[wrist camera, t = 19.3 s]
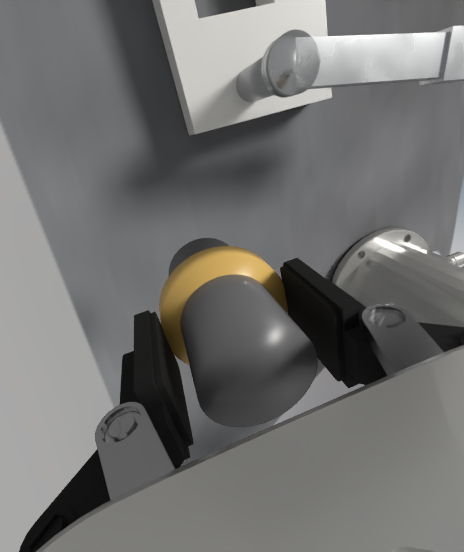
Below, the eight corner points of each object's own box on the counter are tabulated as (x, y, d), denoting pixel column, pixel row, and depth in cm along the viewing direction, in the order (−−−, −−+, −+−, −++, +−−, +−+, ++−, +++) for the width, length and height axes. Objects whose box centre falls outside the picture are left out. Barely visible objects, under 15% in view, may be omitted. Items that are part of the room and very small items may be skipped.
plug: (240, 211, 15) (331, 277, 8) (259, 296, 18) (341, 403, 11) (138, 243, 14) (143, 347, 7) (173, 328, 17) (201, 465, 10)
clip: (451, 84, 19) (477, 80, 17) (261, 99, 16) (272, 96, 15) (461, 32, 18) (490, 22, 16) (258, 39, 15) (270, 28, 14)
